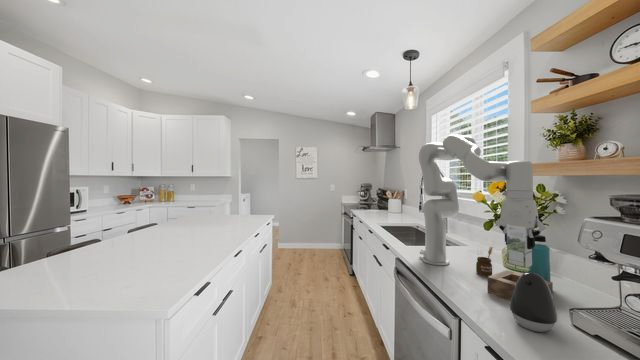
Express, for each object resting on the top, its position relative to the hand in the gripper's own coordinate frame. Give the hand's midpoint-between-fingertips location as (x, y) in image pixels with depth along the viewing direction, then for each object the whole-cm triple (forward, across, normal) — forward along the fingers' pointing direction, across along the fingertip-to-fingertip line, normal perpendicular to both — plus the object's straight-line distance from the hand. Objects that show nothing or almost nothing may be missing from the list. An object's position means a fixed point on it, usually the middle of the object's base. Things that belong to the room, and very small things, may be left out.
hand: (519, 246), depth 92 cm
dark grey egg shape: (+18, +11, -19) cm, 28 cm away
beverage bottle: (+18, 0, +16) cm, 24 cm away
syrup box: (+7, 0, 0) cm, 7 cm away
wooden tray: (+18, 0, 0) cm, 18 cm away
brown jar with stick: (+18, -18, +12) cm, 28 cm away
